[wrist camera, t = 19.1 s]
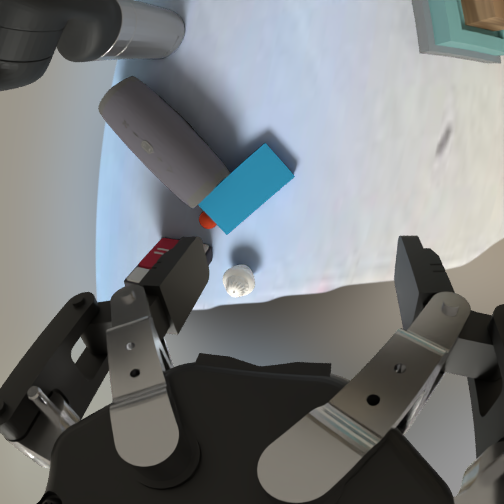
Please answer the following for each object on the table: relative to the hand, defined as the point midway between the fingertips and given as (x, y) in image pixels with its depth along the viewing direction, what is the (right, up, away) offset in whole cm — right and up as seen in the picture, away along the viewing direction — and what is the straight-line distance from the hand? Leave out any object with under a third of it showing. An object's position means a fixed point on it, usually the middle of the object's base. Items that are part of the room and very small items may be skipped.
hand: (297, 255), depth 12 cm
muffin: (-3, -3, +49) cm, 50 cm away
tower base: (+28, +34, +17) cm, 47 cm away
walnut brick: (+26, +29, +9) cm, 40 cm away
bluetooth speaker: (-15, +20, +38) cm, 45 cm away
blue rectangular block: (-4, +11, +41) cm, 43 cm away
